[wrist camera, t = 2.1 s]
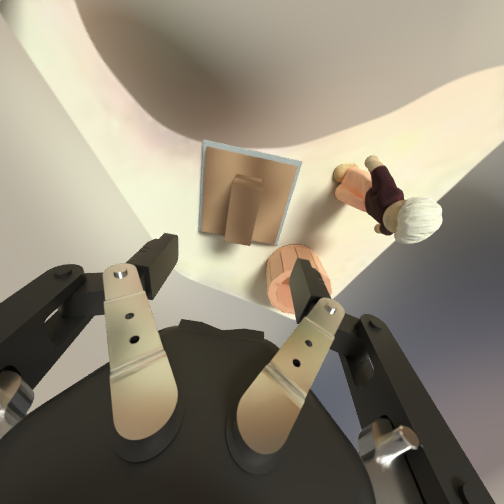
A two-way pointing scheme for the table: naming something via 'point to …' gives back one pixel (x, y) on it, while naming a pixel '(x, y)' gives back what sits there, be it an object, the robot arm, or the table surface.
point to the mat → (251, 153)
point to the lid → (244, 196)
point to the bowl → (288, 274)
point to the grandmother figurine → (387, 202)
